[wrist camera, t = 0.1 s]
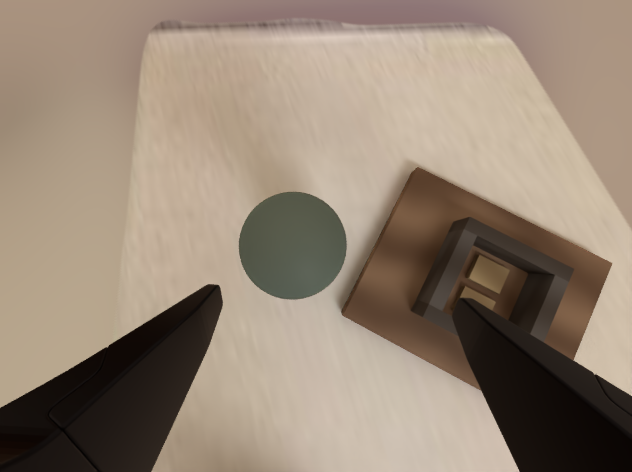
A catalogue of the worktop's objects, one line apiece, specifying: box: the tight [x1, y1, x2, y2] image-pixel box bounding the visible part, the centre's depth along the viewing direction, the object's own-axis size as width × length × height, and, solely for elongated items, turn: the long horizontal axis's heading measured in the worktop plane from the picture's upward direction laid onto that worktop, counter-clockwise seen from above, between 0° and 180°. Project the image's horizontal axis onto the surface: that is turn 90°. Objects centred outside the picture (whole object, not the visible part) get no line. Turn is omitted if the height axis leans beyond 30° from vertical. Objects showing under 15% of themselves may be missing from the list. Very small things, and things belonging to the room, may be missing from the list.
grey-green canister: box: [239, 192, 346, 299], centre depth 17 cm, size 5×5×13 cm
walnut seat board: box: [341, 167, 612, 390], centre depth 21 cm, size 16×20×4 cm
